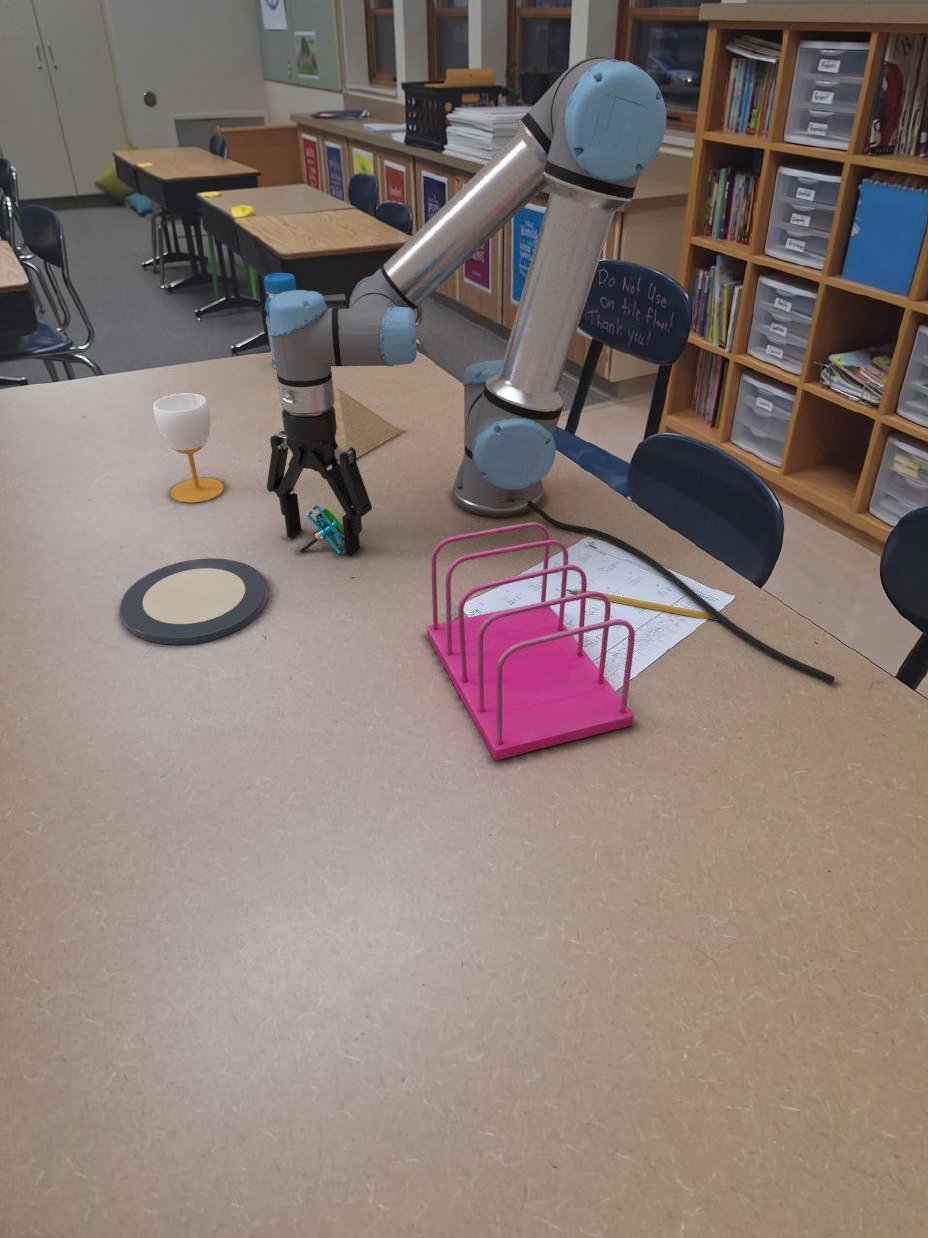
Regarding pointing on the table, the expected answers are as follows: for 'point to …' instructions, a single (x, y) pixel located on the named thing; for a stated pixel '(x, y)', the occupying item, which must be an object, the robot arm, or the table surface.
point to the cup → (187, 440)
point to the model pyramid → (359, 425)
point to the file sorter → (528, 661)
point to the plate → (194, 601)
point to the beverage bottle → (274, 287)
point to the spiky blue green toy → (325, 529)
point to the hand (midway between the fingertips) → (323, 542)
